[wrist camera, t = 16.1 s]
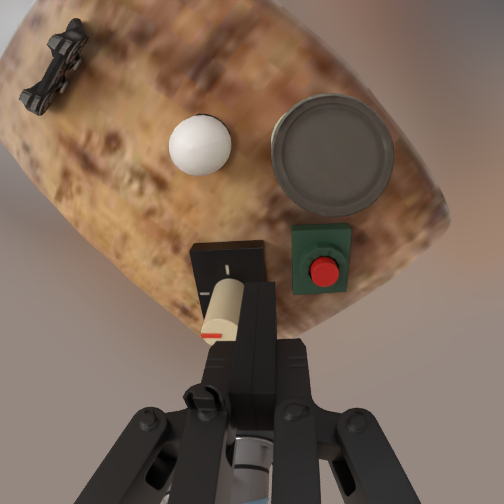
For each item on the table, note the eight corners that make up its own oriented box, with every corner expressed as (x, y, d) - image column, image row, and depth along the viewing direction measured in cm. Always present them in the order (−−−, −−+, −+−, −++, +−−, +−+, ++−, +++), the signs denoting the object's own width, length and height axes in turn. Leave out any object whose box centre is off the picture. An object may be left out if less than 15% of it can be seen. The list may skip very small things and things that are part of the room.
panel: (268, 318, 45) (267, 328, 43) (208, 319, 46) (205, 329, 44) (262, 239, 39) (262, 247, 37) (193, 243, 40) (188, 251, 38)
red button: (335, 279, 37) (338, 286, 36) (309, 280, 38) (311, 287, 36) (337, 255, 36) (340, 262, 34) (310, 257, 36) (312, 263, 34)
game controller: (56, 114, 34) (36, 133, 27) (28, 101, 29) (3, 117, 23) (107, 32, 28) (94, 30, 21) (76, 17, 24) (57, 13, 17)
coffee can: (364, 134, 32) (415, 144, 19) (322, 196, 36) (350, 239, 23) (297, 89, 30) (314, 68, 17) (255, 155, 34) (246, 176, 22)
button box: (343, 284, 42) (349, 298, 38) (292, 286, 42) (294, 302, 39) (347, 222, 37) (355, 233, 34) (291, 225, 38) (293, 236, 34)
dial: (246, 277, 39) (239, 320, 31) (249, 306, 41) (244, 351, 33) (211, 278, 40) (196, 320, 31) (216, 307, 42) (205, 350, 33)
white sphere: (247, 142, 33) (242, 147, 27) (207, 181, 36) (193, 195, 29) (193, 91, 31) (175, 84, 24) (155, 132, 33) (131, 135, 27)
